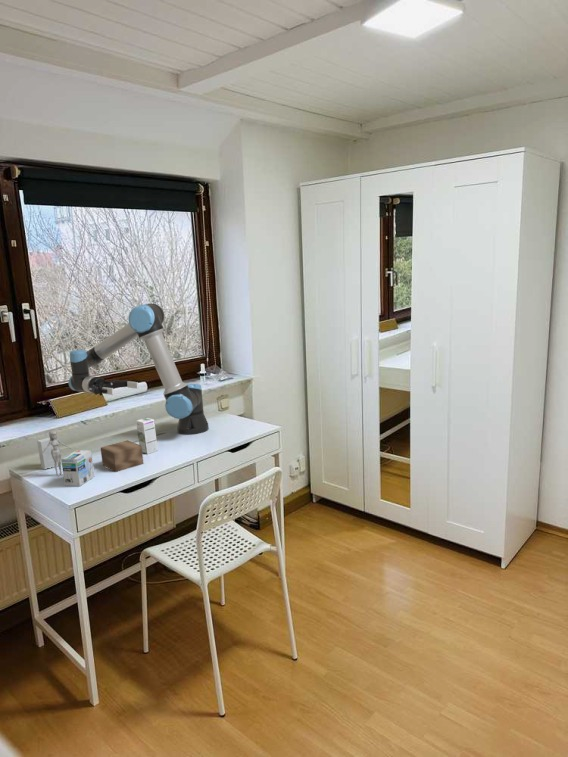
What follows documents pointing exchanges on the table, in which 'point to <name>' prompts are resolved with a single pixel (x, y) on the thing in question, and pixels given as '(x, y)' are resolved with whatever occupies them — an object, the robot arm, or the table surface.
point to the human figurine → (55, 450)
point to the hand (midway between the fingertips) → (125, 388)
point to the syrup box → (147, 435)
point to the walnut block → (122, 455)
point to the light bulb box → (78, 468)
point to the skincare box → (45, 454)
